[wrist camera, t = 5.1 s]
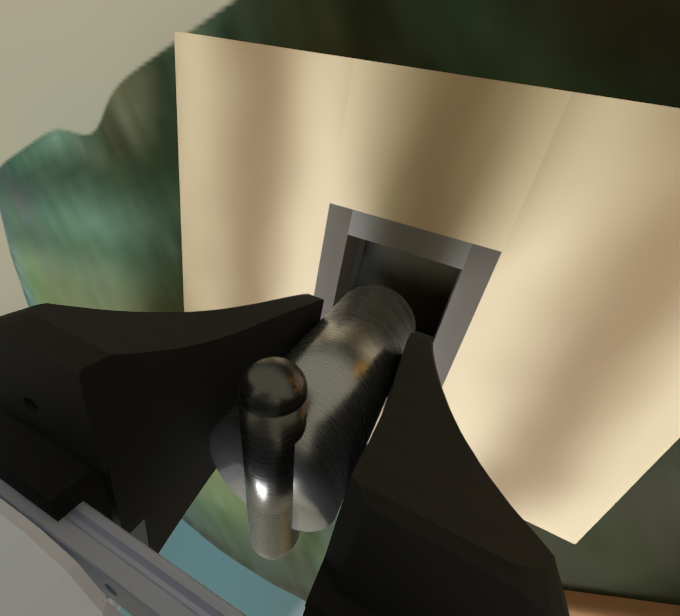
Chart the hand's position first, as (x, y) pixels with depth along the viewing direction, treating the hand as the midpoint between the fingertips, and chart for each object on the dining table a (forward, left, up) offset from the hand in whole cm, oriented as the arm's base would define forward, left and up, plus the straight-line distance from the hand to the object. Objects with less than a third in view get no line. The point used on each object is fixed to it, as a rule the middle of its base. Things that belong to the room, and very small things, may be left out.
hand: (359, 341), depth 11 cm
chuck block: (0, 0, -6) cm, 6 cm away
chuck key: (0, 0, -2) cm, 2 cm away
